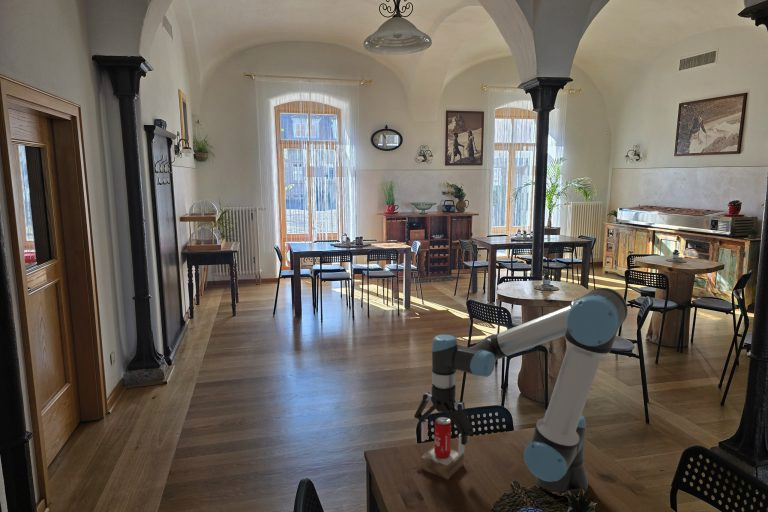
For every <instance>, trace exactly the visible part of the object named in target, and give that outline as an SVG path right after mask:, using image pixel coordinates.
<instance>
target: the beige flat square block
mask: <svg viewBox="0 0 768 512" xmlns="http://www.w3.org/2000/svg"><path fill="white" fill-rule="evenodd" d="M462 466H464V452H463V453H462V454H461V455H459V454H458V450H456V449H455V450H454V449H452V448H451V452H450V455H449V457H448V458H446V459H440V458H437V457H436V455H435V452H434V446H432V447H431V448H429V450H427V451H426V452H425V453H423V455H422V456H421V457H420V469H421V470H423V471H426V472H429V473H431V474H433V475H436V476H439V477H440V478H443V479H446V480H449V479H450V478H451V477H452V476H453V475H455V474H456V473H457V472H458V470H459V469H461V468H462Z"/></svg>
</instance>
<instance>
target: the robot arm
mask: <svg viewBox="0 0 768 512" xmlns="http://www.w3.org/2000/svg"><path fill="white" fill-rule="evenodd" d="M628 311H629V310H628V304H627V301H626V300H625V298H624V297H623V296H622V294H621V293H620V292H618V291H616V290H615V289H612V288H609V287H598V288H594V289H593V290H590V291H589V292H588V293H586V294H584V295H582V296H580V297H578V298H575V299H573V300H572V301H571V304H570V305H568V306H566V307H562V308H560V309H557V310H555V311H552V312H550V313H547V314H545V315H542V316H539V317H537V318H534V319H532V320H529V321H526V322H524V323H522V324H519V325H516V326H513V327H511V328H509V329H506V330H504V331H501V332H498V333H495V334H494V333H493V334H490V335H487V336H486V337H484V339H482V340H481V341H479V342H478V343H476V344H475V345H473V346H471V347H470V346H469V347H468V346H463V345H460V344H458V340H457V338H456V336H453V335H450V334H439V335H435V336H434V337H433V338H432V346H431V356H432V357H431V364H432V365H431V393H430V392H429V391H427V392H425V393H423V395H422V400H421V401H420V404H419V405H418V408H417V410H416V411H415V413H414V416H413V417H414V419H417V420H418V422H419V431H421V433H420V435H421V440H420V441H421V442H425V441H426V440H427V439H428V437H429V435H428V434H429V433H428V432H429V431H428V430H429V427H428V424H429V420H428V417H429V416H430V415H431V414H432V413H433V412H434V411H435V410H436V411H437V412H439V413H443V414H445V415H448V418H451V419H450V420H452V422H453V423H454V425H455V427H456V429H457V430H458V431H459V434H458V449H457V451H458V454H459V455H461V454H462V453H463V454H464V453H465V445H466V444H467V443H468V436H471V435H472V434H473V433H474V429H473V427H472V424H471V421H470V419H469V416H468V413H467V410H466V409H465V408H466V407H465V406H466V405H465V402H463V401H461V402H457V401H456V390H457V389H456V387H457V385H456V381H457V380H456V379H457V371H460V372H464V373H467V374H470V375H474V376H477V377H485V378H487V377H490V376H491V375H492V373H493V371H494V369H495V366H496V361H498V360H500V359H503V358H507V357H508V356H511V355H514V354H517V353H521V352H523V351H526V350H527V349H530V348H534V347H538V346H540V345H541V344H544V343H549V342H551V341H554V340H556V339H559V338H563V337H564V339H565V341H566V342H567V347H566V350H565V353H564V357H563V360H562V363H561V366H560V368H559V369H560V370H559V372H558V375H557V378H556V381H555V384H554V387H553V390H552V394H551V397H550V400H549V402H548V406H547V409H546V410H545V413H544V417H543V418H540V419H538V420H537V422H536V424H535V428H534V430H533V433H532V436H531V439H530V442H529V443H527V444H526V446H525V448H524V451H523V460H524V464H525V465H526V467H527V468H528V470H529V471H530V472H531V473H532V475H534V477H535V481H536V484H537V485H538V487H540V488H541V487H542V488H545V489H549V490H552V491H554V492H559V493H565V492H567V491H571V492H572V493H573V494H574V495H575V496H578V494H579V492H580V490H581V489H583V490H584V491H585V492H586V493H587V492H588V488H589V487H588V486H589V480H588V476H587V473H586V468H585V465H584V454H585V444H586V443H585V442H586V441H585V440H586V439H585V438H586V429H587V424H586V422H587V420H586V418H585V416H584V415H583V411H584V409H585V405H586V403H587V400H588V397H589V395H590V391H591V388H592V386H593V384H594V380H595V377H596V374H597V371H598V369H599V366H600V365H599V364H600V362H601V360H602V357H603V356H605V355H608V354H610V353H611V351H612V348H613V345H614V342H615V339H616V337H617V334H618V331H619V329H620V327H621V326H622V325H623V323H625V320H626V319H627V316H628ZM429 401H431V402H432V406H430V407H429V409H427V410H426V411H425V412H424V410H425V408H426V407H427V405H428V403H429ZM423 412H424V413H423ZM426 418H427V419H426ZM542 488H541V489H542Z"/></svg>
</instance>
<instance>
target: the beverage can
mask: <svg viewBox="0 0 768 512" xmlns="http://www.w3.org/2000/svg"><path fill="white" fill-rule="evenodd" d="M451 440H452V422H451V419H450V418H449V417H445V416H440V417H437V418H436V419H435V421H434V446H433V447H434V452H435V455H436V457H437V458H440V459H446V458H448V457H449V455H450V452H451V449H452V448H451V447H452V446H451V445H452V441H451Z"/></svg>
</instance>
